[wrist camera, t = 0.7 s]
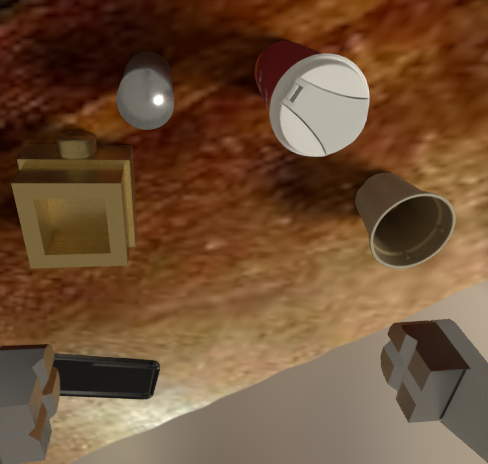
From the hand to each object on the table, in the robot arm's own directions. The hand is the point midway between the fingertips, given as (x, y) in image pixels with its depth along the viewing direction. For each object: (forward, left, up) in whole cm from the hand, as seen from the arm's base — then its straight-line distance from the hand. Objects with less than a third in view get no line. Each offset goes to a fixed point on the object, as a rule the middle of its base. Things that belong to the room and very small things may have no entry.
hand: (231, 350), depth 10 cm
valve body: (+14, -10, -37) cm, 40 cm away
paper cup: (+1, +10, -37) cm, 38 cm away
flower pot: (+15, +24, -37) cm, 46 cm away
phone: (+44, -11, -37) cm, 59 cm away
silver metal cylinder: (+2, -3, -37) cm, 37 cm away
